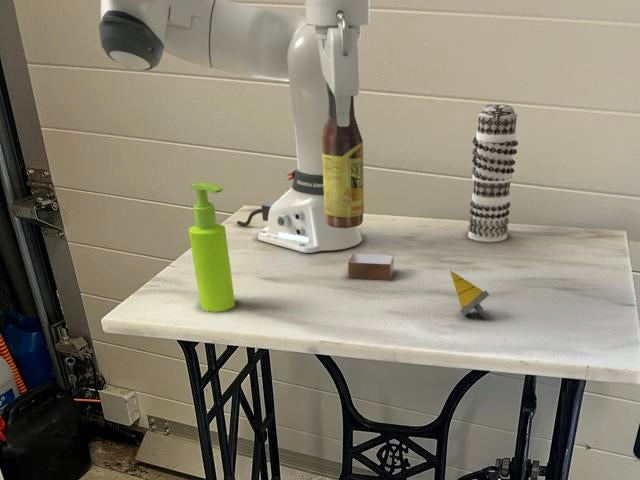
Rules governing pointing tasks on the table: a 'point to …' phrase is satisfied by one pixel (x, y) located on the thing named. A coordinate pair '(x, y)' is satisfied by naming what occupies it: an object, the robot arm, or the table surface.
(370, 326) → the table surface
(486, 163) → the decorative candle
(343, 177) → the sauce bottle
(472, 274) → the table surface
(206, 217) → the lime green necked cylinder
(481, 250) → the table surface
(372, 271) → the plywood offcut
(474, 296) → the yellow tipped cone
